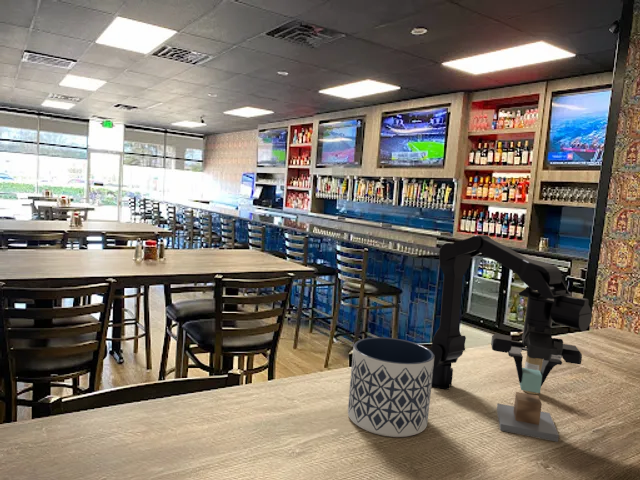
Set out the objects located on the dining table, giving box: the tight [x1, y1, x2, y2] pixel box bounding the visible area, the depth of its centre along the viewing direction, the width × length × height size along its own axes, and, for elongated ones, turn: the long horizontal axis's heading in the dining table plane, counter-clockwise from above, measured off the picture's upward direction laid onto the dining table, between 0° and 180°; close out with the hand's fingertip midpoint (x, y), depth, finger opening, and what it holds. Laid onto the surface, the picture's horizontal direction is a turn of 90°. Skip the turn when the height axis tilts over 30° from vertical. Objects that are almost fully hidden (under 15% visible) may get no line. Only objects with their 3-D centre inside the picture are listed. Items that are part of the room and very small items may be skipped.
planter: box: [347, 336, 434, 438], centre depth 110 cm, size 18×18×16 cm
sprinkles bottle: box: [522, 354, 543, 395], centre depth 134 cm, size 5×5×13 cm
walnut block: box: [513, 391, 543, 425], centre depth 113 cm, size 5×5×5 cm
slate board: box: [496, 402, 560, 443], centre depth 113 cm, size 12×12×2 cm
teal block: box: [519, 367, 542, 394], centre depth 113 cm, size 4×4×4 cm
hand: (530, 384), depth 113 cm, fingers closed on teal block, 4 cm apart
